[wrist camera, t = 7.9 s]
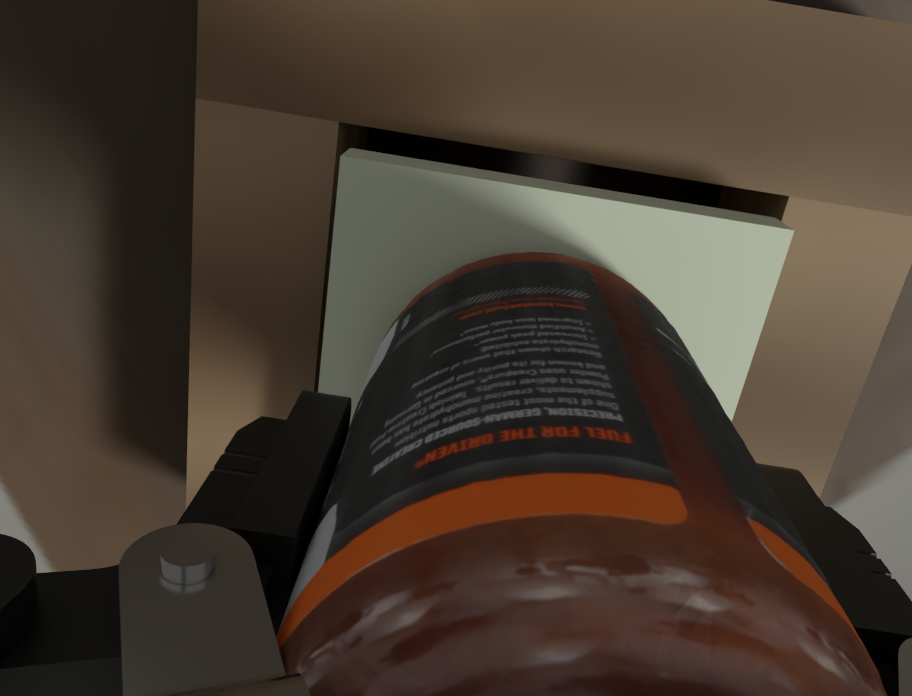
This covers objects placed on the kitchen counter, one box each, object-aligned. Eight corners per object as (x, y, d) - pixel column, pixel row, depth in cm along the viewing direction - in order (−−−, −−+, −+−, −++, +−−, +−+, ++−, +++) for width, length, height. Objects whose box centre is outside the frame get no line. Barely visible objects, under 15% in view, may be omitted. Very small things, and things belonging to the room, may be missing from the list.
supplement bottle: (306, 372, 15) (-156, 1206, 4) (556, 171, 13) (800, 728, 3) (502, 574, 16) (516, 1545, 6) (748, 416, 15) (1379, 1377, 4)
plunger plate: (350, 148, 14) (340, 155, 13) (775, 217, 14) (794, 230, 13) (314, 508, 17) (304, 535, 16) (665, 563, 17) (675, 593, 16)
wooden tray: (264, -68, 17) (200, -96, 13) (890, 37, 17) (1000, 39, 13) (234, 505, 23) (183, 597, 19) (704, 578, 23) (745, 684, 19)
